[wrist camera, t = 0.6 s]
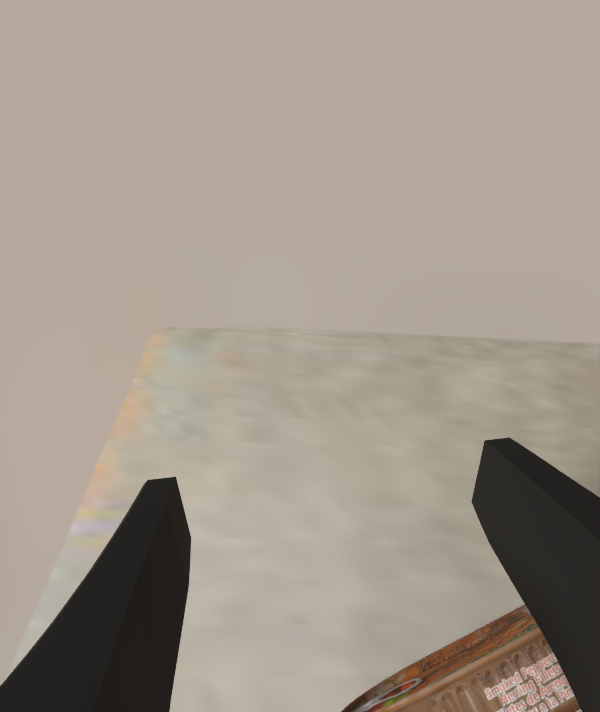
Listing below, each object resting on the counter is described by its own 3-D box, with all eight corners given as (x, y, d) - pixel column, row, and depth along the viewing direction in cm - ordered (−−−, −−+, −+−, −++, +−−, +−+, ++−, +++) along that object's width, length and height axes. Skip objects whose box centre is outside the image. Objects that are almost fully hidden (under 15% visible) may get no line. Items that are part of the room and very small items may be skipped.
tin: (590, 570, 24) (667, 535, 17) (638, 633, 22) (746, 623, 15) (341, 700, 23) (316, 720, 16) (370, 778, 21) (355, 838, 14)
